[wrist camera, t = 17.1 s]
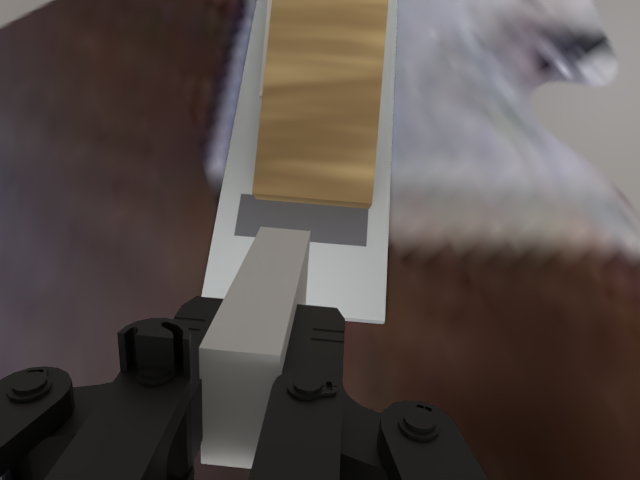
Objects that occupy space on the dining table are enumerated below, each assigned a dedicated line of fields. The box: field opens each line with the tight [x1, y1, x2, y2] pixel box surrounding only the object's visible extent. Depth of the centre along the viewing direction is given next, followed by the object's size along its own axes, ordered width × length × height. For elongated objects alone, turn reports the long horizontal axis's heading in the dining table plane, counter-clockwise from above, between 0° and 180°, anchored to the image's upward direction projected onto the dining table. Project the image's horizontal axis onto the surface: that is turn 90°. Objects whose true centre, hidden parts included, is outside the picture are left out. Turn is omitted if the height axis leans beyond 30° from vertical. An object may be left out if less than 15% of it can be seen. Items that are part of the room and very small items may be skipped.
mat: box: [201, 0, 398, 324], centre depth 30 cm, size 25×9×1 cm, turn 175°
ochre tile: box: [252, 0, 389, 209], centre depth 27 cm, size 2×6×12 cm
